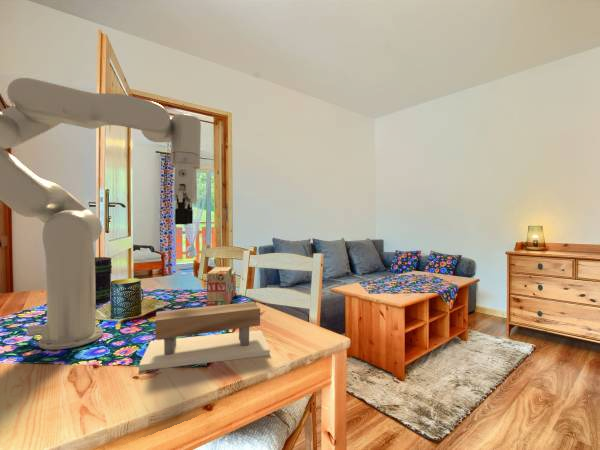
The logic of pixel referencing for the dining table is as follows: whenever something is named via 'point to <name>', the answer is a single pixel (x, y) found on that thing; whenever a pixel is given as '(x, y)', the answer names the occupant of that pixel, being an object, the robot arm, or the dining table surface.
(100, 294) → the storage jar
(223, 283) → the stack of blocks
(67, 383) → the dining table surface
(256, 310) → the shelf board
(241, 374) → the dining table surface
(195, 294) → the dining table surface
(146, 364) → the peg stand
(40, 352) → the dining table surface
